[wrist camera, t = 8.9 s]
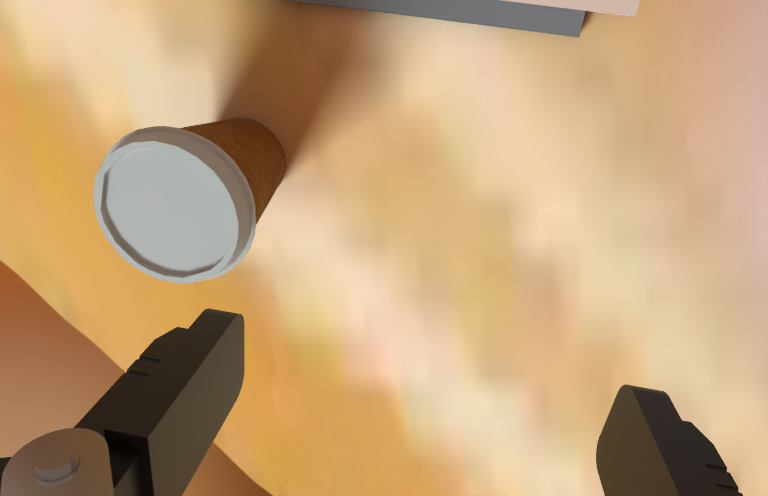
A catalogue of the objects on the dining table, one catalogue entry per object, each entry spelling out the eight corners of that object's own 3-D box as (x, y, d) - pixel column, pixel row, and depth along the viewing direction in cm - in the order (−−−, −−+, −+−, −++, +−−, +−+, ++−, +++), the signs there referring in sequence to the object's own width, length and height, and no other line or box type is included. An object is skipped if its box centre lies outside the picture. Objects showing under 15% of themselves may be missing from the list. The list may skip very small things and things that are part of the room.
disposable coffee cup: (242, 67, 37) (150, 93, 26) (331, 169, 39) (281, 231, 28) (163, 149, 40) (53, 201, 30) (249, 238, 43) (176, 317, 32)
